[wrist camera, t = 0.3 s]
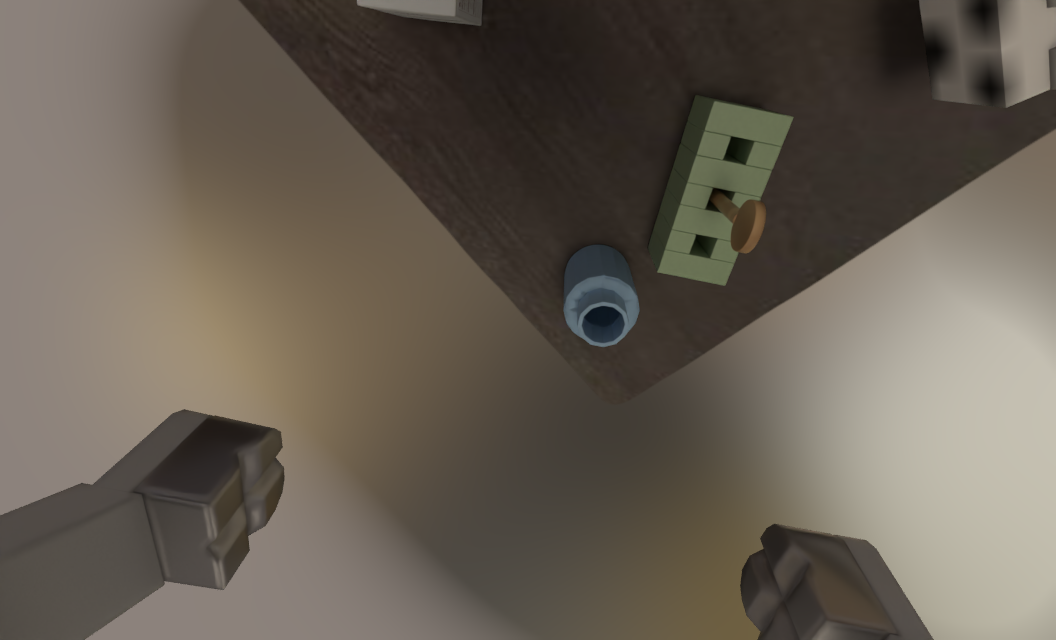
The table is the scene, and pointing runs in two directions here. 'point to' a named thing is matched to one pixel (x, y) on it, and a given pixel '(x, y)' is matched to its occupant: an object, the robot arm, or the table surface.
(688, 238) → the stand
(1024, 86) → the blocky rabbit figurine
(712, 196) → the spoon
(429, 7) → the white packaging box
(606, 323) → the bottle
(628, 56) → the table surface
